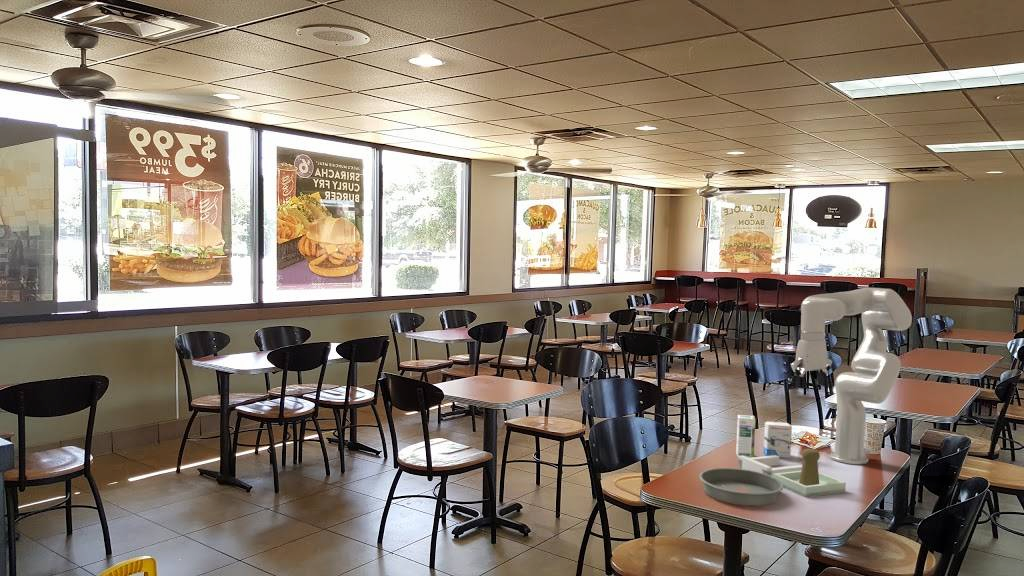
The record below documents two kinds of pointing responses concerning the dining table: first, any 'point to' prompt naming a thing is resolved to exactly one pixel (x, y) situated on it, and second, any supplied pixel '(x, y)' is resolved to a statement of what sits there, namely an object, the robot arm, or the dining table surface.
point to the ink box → (777, 439)
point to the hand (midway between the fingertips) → (811, 386)
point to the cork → (810, 467)
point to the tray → (824, 487)
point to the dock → (765, 465)
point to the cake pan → (760, 485)
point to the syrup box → (745, 436)
